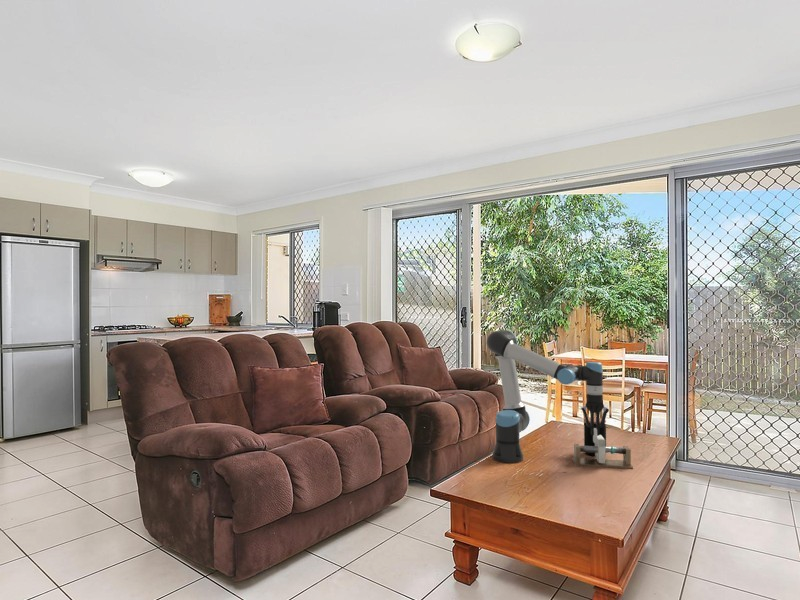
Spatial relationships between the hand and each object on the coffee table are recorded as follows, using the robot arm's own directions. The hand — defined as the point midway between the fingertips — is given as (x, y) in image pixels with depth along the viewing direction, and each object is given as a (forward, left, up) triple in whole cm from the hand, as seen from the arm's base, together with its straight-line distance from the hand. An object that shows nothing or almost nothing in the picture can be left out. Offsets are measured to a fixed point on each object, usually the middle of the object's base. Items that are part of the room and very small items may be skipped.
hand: (595, 442), depth 249 cm
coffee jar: (+3, +17, -11) cm, 21 cm away
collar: (+2, 0, -9) cm, 9 cm away
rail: (+3, 0, -11) cm, 11 cm away
